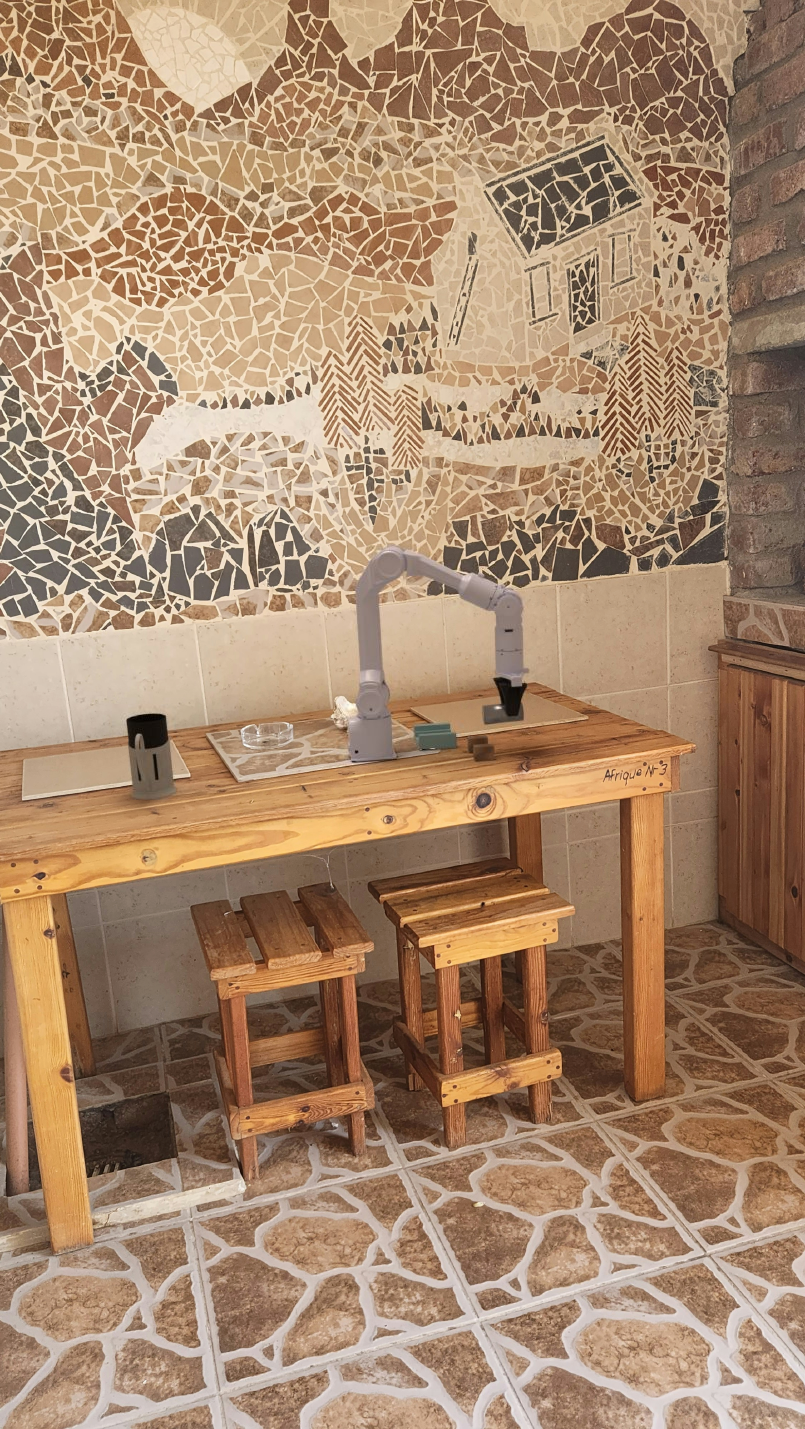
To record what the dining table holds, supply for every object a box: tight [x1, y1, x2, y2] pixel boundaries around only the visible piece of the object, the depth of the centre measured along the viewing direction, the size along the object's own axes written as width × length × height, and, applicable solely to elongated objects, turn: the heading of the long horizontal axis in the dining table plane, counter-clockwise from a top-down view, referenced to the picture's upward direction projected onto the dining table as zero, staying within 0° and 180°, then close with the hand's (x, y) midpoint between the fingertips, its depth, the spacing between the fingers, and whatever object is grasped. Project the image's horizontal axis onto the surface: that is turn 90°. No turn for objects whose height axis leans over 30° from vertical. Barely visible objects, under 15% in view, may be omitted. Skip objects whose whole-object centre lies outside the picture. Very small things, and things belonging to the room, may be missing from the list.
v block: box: [413, 721, 458, 750], centre depth 236 cm, size 8×10×3 cm
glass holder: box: [125, 712, 178, 801], centre depth 207 cm, size 9×14×15 cm, turn 1°
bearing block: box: [467, 734, 495, 762], centre depth 226 cm, size 4×9×3 cm, turn 6°
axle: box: [481, 701, 525, 726], centre depth 224 cm, size 8×4×4 cm, turn 96°
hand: (510, 713), depth 224 cm, fingers closed on axle, 4 cm apart
